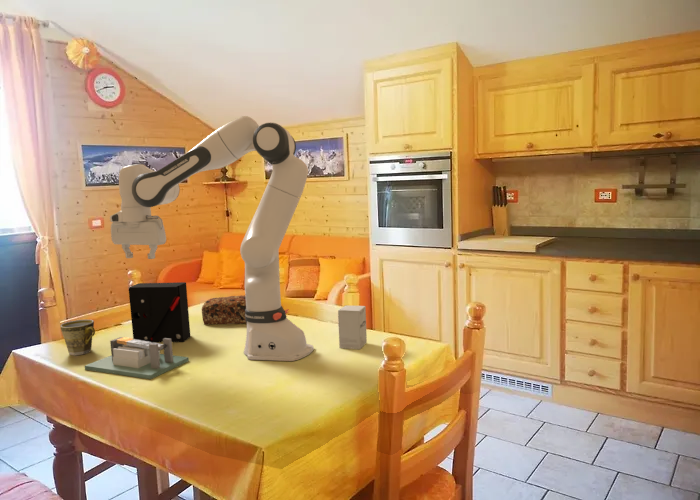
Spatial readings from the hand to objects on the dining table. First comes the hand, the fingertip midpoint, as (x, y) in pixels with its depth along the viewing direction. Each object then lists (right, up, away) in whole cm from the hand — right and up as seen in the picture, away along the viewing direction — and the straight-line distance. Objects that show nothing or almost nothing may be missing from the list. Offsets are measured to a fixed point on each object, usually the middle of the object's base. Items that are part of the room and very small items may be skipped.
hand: (140, 258), depth 174 cm
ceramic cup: (-21, -32, +5) cm, 39 cm away
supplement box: (+69, -29, +1) cm, 75 cm away
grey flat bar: (+5, -26, -11) cm, 29 cm away
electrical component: (+2, -29, +17) cm, 34 cm away
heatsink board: (+3, -33, -10) cm, 34 cm away
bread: (+20, -26, +39) cm, 51 cm away
